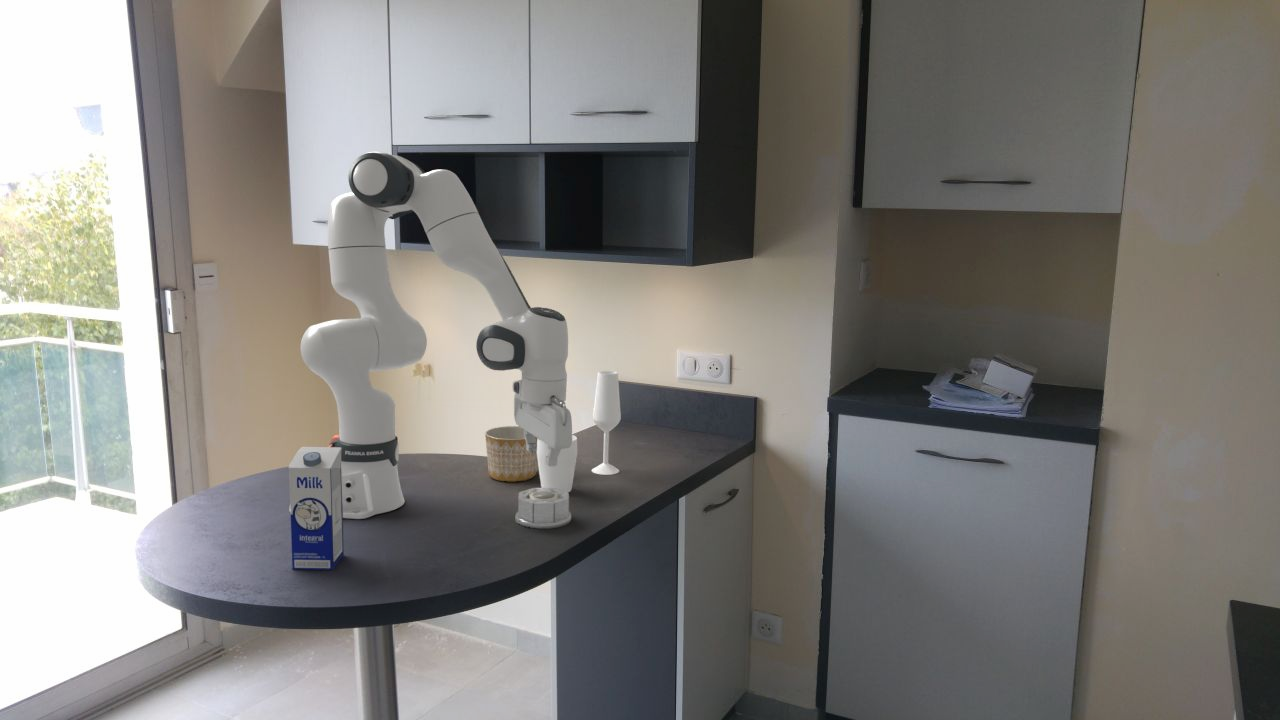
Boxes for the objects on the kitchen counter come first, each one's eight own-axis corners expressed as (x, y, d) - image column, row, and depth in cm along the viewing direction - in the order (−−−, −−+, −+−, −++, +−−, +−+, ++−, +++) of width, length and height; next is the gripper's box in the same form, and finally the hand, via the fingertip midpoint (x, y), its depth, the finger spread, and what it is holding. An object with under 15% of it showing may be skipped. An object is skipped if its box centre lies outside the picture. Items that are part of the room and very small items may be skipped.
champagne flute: (609, 476, 213) (611, 376, 209) (585, 471, 216) (588, 372, 212) (624, 469, 218) (627, 372, 214) (601, 465, 222) (603, 368, 218)
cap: (536, 520, 178) (537, 500, 178) (525, 512, 183) (525, 492, 182) (561, 516, 181) (562, 496, 181) (549, 508, 186) (549, 488, 185)
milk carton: (344, 555, 161) (342, 446, 157) (333, 570, 154) (330, 456, 151) (304, 554, 160) (300, 445, 157) (291, 569, 154) (287, 455, 151)
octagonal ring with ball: (514, 529, 176) (514, 504, 175) (516, 510, 187) (516, 487, 186) (572, 528, 177) (572, 504, 177) (570, 509, 188) (570, 486, 188)
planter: (531, 486, 204) (531, 441, 202) (477, 481, 206) (477, 437, 204) (545, 470, 216) (546, 427, 214) (495, 466, 218) (495, 424, 216)
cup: (570, 498, 196) (571, 444, 194) (530, 494, 198) (531, 441, 196) (581, 486, 205) (582, 434, 203) (543, 482, 206) (543, 431, 204)
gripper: (582, 402, 170) (578, 472, 173) (537, 379, 188) (535, 443, 190) (551, 404, 167) (548, 475, 170) (509, 380, 184) (507, 446, 187)
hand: (541, 458), depth 180 cm, fingers open, 8 cm apart
